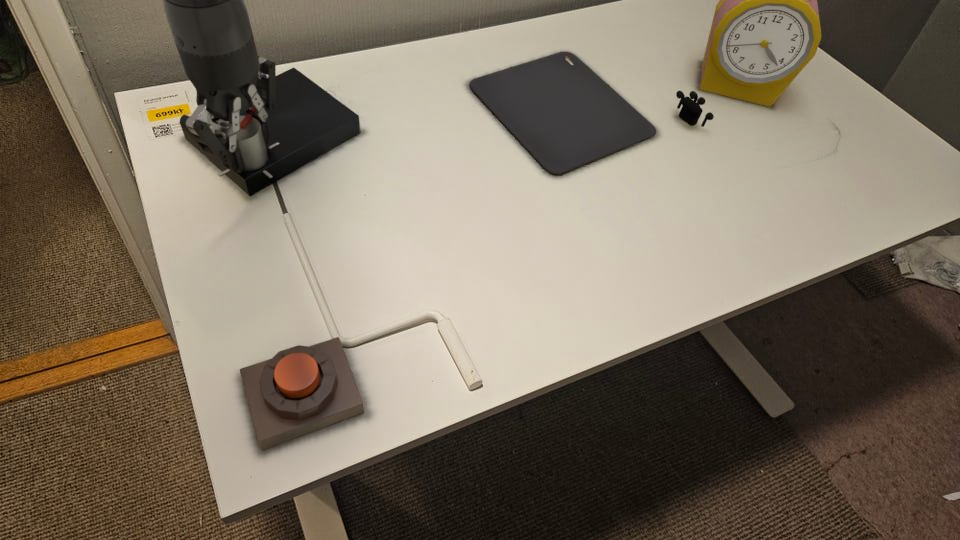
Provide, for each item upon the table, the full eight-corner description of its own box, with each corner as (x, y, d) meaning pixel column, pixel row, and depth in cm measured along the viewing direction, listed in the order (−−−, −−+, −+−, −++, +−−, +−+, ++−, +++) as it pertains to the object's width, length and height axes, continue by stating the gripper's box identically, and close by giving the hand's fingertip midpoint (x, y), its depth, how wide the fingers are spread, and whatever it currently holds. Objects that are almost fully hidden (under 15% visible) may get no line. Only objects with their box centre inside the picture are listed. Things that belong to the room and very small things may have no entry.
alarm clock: (689, 89, 98) (738, -22, 84) (692, 61, 103) (739, -49, 89) (781, 112, 97) (848, 4, 82) (779, 82, 102) (842, -25, 87)
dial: (257, 175, 74) (248, 142, 70) (224, 166, 74) (213, 132, 70) (274, 152, 77) (266, 118, 72) (242, 143, 77) (232, 109, 73)
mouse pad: (660, 134, 91) (661, 132, 91) (552, 178, 83) (553, 176, 83) (568, 50, 101) (568, 49, 101) (465, 82, 93) (465, 81, 93)
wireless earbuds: (707, 132, 92) (720, 106, 88) (696, 138, 91) (710, 111, 87) (672, 107, 95) (684, 80, 91) (662, 112, 94) (673, 85, 90)
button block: (262, 450, 57) (253, 434, 54) (243, 378, 62) (235, 360, 58) (364, 412, 61) (362, 395, 57) (340, 346, 65) (337, 327, 62)
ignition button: (282, 405, 57) (279, 397, 55) (272, 369, 59) (269, 360, 57) (325, 390, 58) (323, 382, 56) (313, 355, 60) (311, 346, 58)
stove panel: (246, 212, 74) (240, 194, 72) (173, 145, 80) (165, 126, 77) (369, 139, 84) (368, 121, 82) (296, 84, 90) (293, 66, 87)
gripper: (196, 80, 57) (238, 204, 70) (285, 8, 65) (307, 132, 79) (130, 55, 58) (184, 182, 72) (226, -12, 66) (258, 113, 80)
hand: (248, 155), depth 75 cm, fingers closed on dial, 4 cm apart
